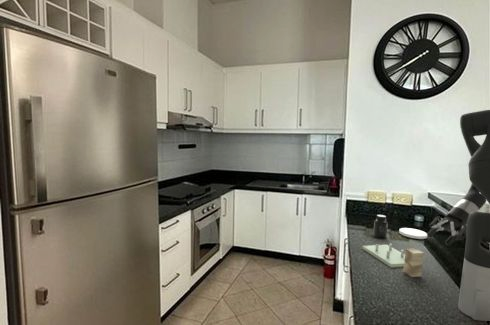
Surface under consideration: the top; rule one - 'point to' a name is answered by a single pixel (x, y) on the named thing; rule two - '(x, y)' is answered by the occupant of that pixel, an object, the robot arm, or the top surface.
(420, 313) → the top surface
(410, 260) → the ash block
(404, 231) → the plastic lid
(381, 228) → the supplement bottle
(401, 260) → the peg board
